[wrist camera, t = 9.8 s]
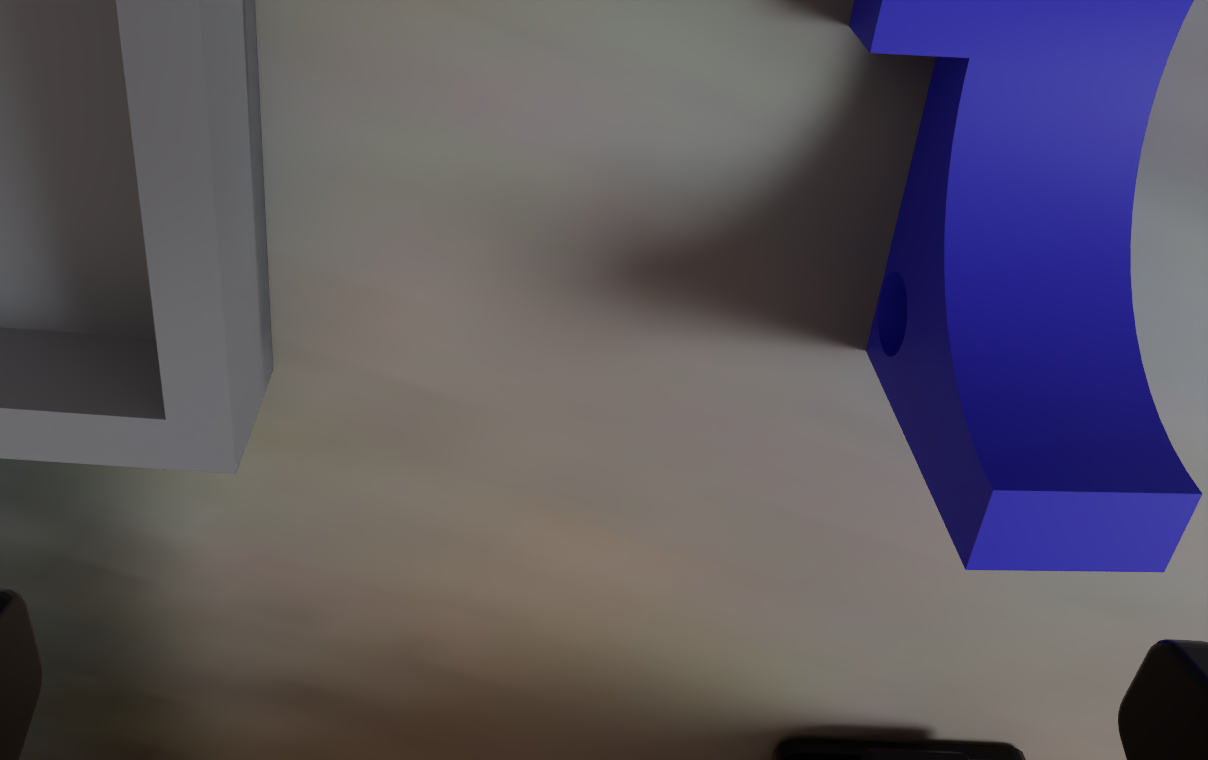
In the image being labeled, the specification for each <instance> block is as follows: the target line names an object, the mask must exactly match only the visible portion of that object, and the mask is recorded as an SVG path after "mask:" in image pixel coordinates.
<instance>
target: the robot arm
mask: <svg viewBox="0 0 1208 760" xmlns="http://www.w3.org/2000/svg"><path fill="white" fill-rule="evenodd" d="M42 675H43V673H42V662H41V658H40V654H39V650H38V646H37V642H36V638H35V635H34V631H33V627H32V623H31V619H30V615H29V611H28V607H27V604H26V602H25V599H24V598H23V596H22V595H21V594H20V593H19V592H17V591H14V590H11V589H0V760H19V759H20V756H21V753H22V750H23V746H24V743H25V740H26V737H27V734H28V730H29V727H30V724H31V721H32V718H33V715H34V711H35V708H36V705H37V702H38V699H39V695H40V691H41V685H42ZM1118 725H1119V733H1120V737H1121V741H1122V744H1123V748H1124V751H1125V755H1126V758H1127V760H1208V642H1203V641H1190V640H1161V641H1159V642H1157V643H1156V644H1154V645H1153V646H1152V647H1151V648H1150V650H1149V651H1148V653H1147V655H1146V657H1145V658H1144V660H1143V662H1142V664H1141V666H1140V668H1139V670H1138V672H1137V673H1136V675H1135V677H1134V679H1133V681H1132V683H1131V685H1130V687H1129V688H1128V690H1127V692H1126V694H1125V696H1124V698H1123V700H1122V702H1121V705H1120V709H1119V714H1118ZM772 760H1026V759H1025V757H1024V755H1023V752H1022V751H1020V750H1019V749H1016V748H1009V747H985V746H961V745H938V744H914V743H890V742H866V741H842V740H818V739H791V740H788V741H785V742H783V743H781V744H780V745H778V746H777V748H776V749H775V751H774V754H773V757H772Z"/></svg>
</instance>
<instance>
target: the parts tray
mask: <svg viewBox="0 0 1208 760" xmlns="http://www.w3.org/2000/svg"><path fill="white" fill-rule="evenodd" d="M272 371H273V359H272V339H271V318H270V298H269V278H268V258H267V237H266V217H265V197H264V176H263V156H262V136H261V116H260V95H259V75H258V55H257V34H256V14H255V0H0V458H4V459H19V460H34V461H49V462H64V463H80V464H95V465H110V466H125V467H140V468H155V469H170V470H185V471H200V472H215V473H230V474H236V472H237V469H238V467H239V464H240V461H241V458H242V455H243V453H244V450H245V447H246V444H247V441H248V439H249V436H250V433H251V430H252V427H253V425H254V422H255V419H256V416H257V413H258V411H259V408H260V405H261V402H262V399H263V396H264V394H265V391H266V388H267V385H268V382H269V380H270V377H271V374H272Z"/></svg>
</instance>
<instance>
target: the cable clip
mask: <svg viewBox="0 0 1208 760" xmlns="http://www.w3.org/2000/svg"><path fill="white" fill-rule="evenodd" d="M1193 1H1194V0H854V4H853V9H852V15H851V20H850V25H849V27H850V28H851V29H852V30H853V32H854V33H855V34H856V36H857V37H858V38H859V39H860V41H861V42H862V43H863V45H864V46H865V47H866V48H867V50H868V51H869V52H870V53H878V54H898V55H918V56H937V57H936V61H935V65H934V69H933V73H932V78H931V82H930V86H929V90H928V94H927V98H926V103H925V107H924V111H923V115H922V119H921V123H920V128H919V132H918V136H917V140H916V144H915V149H914V153H913V157H912V161H911V165H910V169H909V174H908V178H907V182H906V186H905V190H904V194H903V199H902V203H901V207H900V211H899V215H898V219H897V224H896V228H895V232H894V236H893V240H892V244H891V249H890V253H889V257H888V261H887V265H886V270H885V274H884V278H883V282H882V286H881V290H880V295H879V299H878V303H877V307H876V311H875V315H874V320H873V324H872V328H871V332H870V336H869V340H868V345H867V349H866V352H867V354H868V356H869V358H870V361H871V363H872V365H873V367H874V369H875V372H876V374H877V376H878V378H879V380H880V383H881V385H882V387H883V389H884V391H885V394H886V396H887V398H888V400H889V402H890V405H891V407H892V409H893V411H894V413H895V416H896V418H897V420H898V422H899V424H900V427H901V429H902V431H903V433H904V435H905V438H906V440H907V442H908V444H909V446H910V449H911V451H912V453H913V455H914V457H915V460H916V462H917V464H918V466H919V468H920V471H921V473H922V475H923V477H924V479H925V482H926V484H927V486H928V488H929V490H930V493H931V495H932V497H933V499H934V501H935V504H936V506H937V508H938V510H939V512H940V515H941V517H942V519H943V521H944V523H945V526H946V528H947V530H948V532H949V534H950V537H951V539H952V541H953V543H954V545H955V548H956V550H957V552H958V554H959V556H960V559H961V561H962V563H963V565H964V567H965V570H1027V571H1111V572H1164V571H1165V569H1166V567H1167V565H1168V563H1169V561H1170V559H1171V557H1172V555H1173V553H1174V551H1175V549H1176V547H1177V545H1178V543H1179V541H1180V539H1181V536H1182V534H1183V532H1184V530H1185V528H1186V526H1187V524H1188V522H1189V520H1190V518H1191V516H1192V514H1193V512H1194V510H1195V508H1196V506H1197V504H1198V502H1199V500H1200V498H1201V496H1202V493H1201V491H1200V490H1199V488H1198V487H1197V486H1196V484H1195V483H1194V481H1193V480H1192V478H1191V477H1190V475H1189V474H1188V473H1187V471H1186V470H1185V468H1184V466H1183V464H1182V462H1181V461H1180V459H1179V457H1178V455H1177V454H1176V452H1175V450H1174V448H1173V446H1172V445H1171V442H1170V440H1169V438H1168V436H1167V434H1166V431H1165V429H1164V427H1163V425H1162V423H1161V420H1160V418H1159V415H1158V412H1157V410H1156V407H1155V404H1154V401H1153V398H1152V396H1151V393H1150V390H1149V386H1148V382H1147V379H1146V375H1145V372H1144V368H1143V364H1142V360H1141V355H1140V350H1139V345H1138V340H1137V335H1136V327H1135V320H1134V312H1133V304H1132V289H1131V274H1130V242H1131V224H1132V209H1133V201H1134V192H1135V184H1136V177H1137V171H1138V165H1139V160H1140V154H1141V148H1142V144H1143V140H1144V136H1145V131H1146V127H1147V123H1148V119H1149V115H1150V111H1151V108H1152V105H1153V101H1154V98H1155V94H1156V91H1157V88H1158V84H1159V82H1160V79H1161V76H1162V73H1163V70H1164V68H1165V65H1166V62H1167V59H1168V57H1169V54H1170V51H1171V49H1172V46H1173V44H1174V42H1175V39H1176V37H1177V35H1178V32H1179V30H1180V28H1181V25H1182V23H1183V21H1184V19H1185V17H1186V15H1187V13H1188V11H1189V9H1190V7H1191V5H1192V3H1193Z"/></svg>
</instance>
